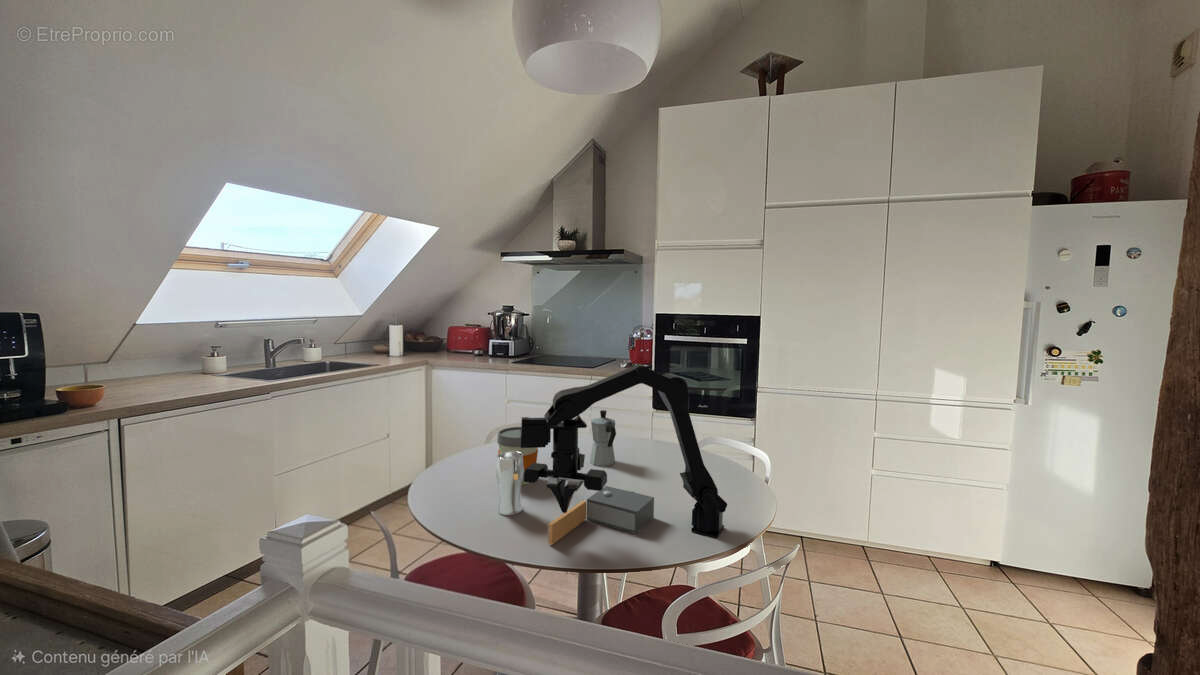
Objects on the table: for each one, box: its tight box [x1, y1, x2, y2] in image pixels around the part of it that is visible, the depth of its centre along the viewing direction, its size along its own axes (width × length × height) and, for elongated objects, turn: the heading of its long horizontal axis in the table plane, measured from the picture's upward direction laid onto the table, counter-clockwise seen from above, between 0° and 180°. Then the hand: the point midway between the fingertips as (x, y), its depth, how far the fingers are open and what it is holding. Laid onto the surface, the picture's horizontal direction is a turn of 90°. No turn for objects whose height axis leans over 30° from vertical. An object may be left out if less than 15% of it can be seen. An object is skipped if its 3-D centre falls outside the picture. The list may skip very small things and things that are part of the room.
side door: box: [547, 500, 587, 545], centre depth 118 cm, size 15×2×5 cm, turn 151°
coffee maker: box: [589, 409, 617, 468], centre depth 166 cm, size 15×9×18 cm, turn 25°
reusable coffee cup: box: [497, 426, 539, 486], centre depth 150 cm, size 13×13×15 cm
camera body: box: [586, 485, 655, 535], centre depth 126 cm, size 14×12×6 cm
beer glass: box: [495, 451, 524, 517], centre depth 129 cm, size 7×7×15 cm
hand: (564, 512), depth 114 cm, fingers closed
